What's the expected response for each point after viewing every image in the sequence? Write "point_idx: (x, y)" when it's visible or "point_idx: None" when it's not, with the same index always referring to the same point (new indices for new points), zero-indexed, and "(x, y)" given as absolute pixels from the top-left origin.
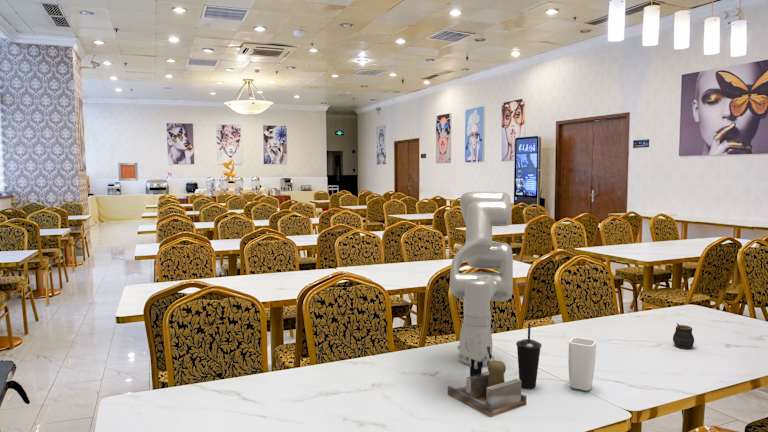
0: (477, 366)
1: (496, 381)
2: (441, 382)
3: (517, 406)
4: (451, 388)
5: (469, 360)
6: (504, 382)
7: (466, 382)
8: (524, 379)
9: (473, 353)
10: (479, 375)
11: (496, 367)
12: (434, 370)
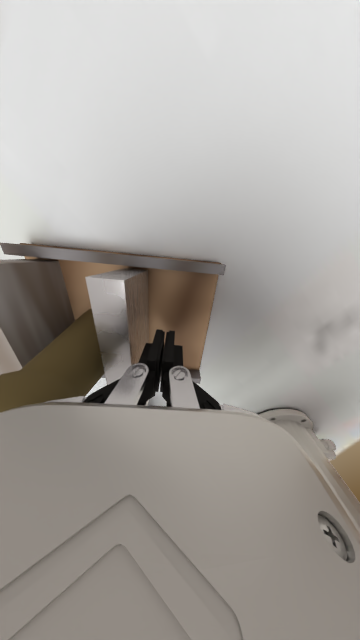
0: (122, 378)
1: (39, 353)
2: (279, 312)
3: None
4: (206, 263)
5: (184, 395)
6: (19, 365)
7: (130, 276)
8: None
9: (37, 496)
10: (112, 344)
11: None
12: (331, 350)
